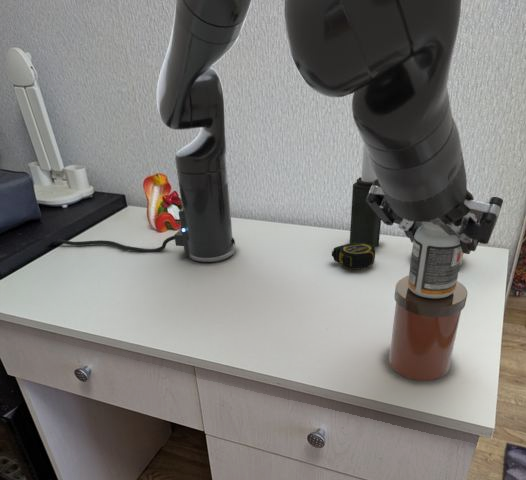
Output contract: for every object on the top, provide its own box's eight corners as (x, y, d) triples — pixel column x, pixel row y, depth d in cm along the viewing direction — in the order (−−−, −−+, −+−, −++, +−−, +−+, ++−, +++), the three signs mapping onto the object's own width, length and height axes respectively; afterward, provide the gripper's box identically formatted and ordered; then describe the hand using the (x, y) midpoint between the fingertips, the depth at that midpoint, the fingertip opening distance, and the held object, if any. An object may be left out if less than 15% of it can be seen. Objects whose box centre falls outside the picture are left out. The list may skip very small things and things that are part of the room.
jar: (384, 377, 66) (393, 302, 59) (389, 341, 73) (397, 271, 66) (451, 386, 64) (469, 309, 57) (450, 349, 70) (466, 276, 64)
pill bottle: (461, 286, 62) (478, 209, 56) (442, 305, 58) (458, 224, 52) (419, 275, 65) (431, 200, 59) (398, 291, 61) (408, 213, 56)
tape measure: (361, 255, 97) (362, 237, 95) (381, 268, 92) (383, 249, 90) (331, 262, 95) (331, 244, 93) (349, 276, 90) (351, 257, 88)
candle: (371, 253, 98) (382, 116, 83) (347, 248, 100) (354, 114, 86) (380, 244, 101) (393, 110, 87) (357, 239, 104) (366, 109, 89)
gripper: (516, 132, 41) (517, 223, 56) (361, 119, 49) (398, 203, 63) (484, 213, 41) (493, 284, 56) (332, 188, 48) (376, 256, 63)
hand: (442, 240), depth 59 cm, fingers closed on pill bottle, 5 cm apart
